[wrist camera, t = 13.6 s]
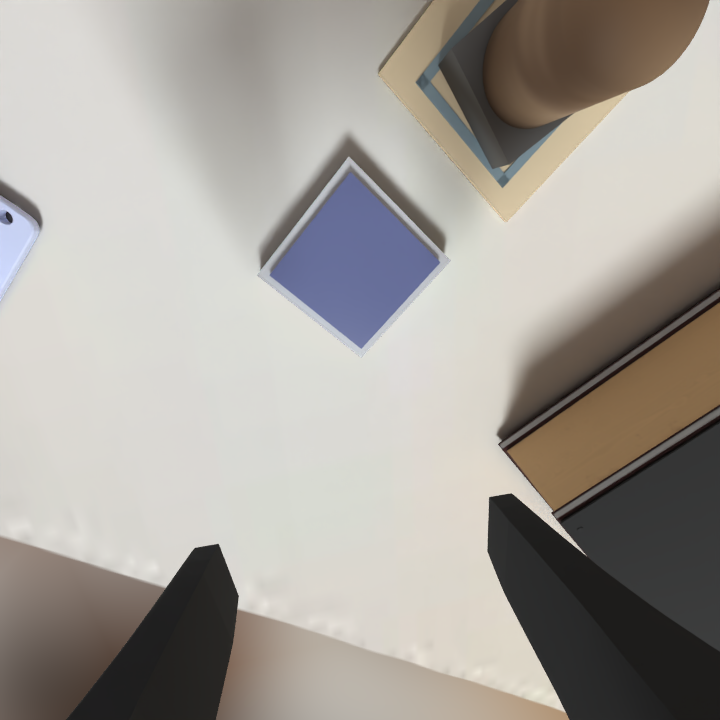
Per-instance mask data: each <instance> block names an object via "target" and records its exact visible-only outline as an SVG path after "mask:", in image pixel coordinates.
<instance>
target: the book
mask: <svg viewBox="0 0 720 720" xmlns="http://www.w3.org/2000/svg"><path fill="white" fill-rule="evenodd" d="M498 445H499V446H500V447H501V448H502V450H503V451H504V452H505V453H506V455H507V456H508V457H509V458H510V459H511V461H512V462H513V463H514V464H515V465H516V467H517V468H518V469H519V470H520V471H521V473H522V474H523V475H524V476H525V477H526V479H527V480H528V481H529V482H530V483H531V485H532V486H533V487H534V488H535V489H536V491H537V492H538V493H539V494H540V495H541V496H542V498H543V499H544V500H545V501H546V502H547V504H548V505H549V506H550V507H551V508H552V510H553V512H552V515H553V516H554V517H555V518H556V520H557V521H558V522H559V523H560V525H561V526H562V527H563V528H564V529H565V531H566V532H567V533H568V534H569V535H570V536H571V538H572V539H573V540H574V541H575V542H576V544H577V545H578V546H579V547H580V548H581V549H582V551H583V552H584V553H585V554H586V555H587V557H588V558H589V559H591V560H592V561H593V562H594V563H596V564H597V565H598V566H599V567H601V568H602V569H603V570H605V571H606V572H607V573H608V574H610V575H611V576H612V577H614V578H615V579H616V580H618V581H619V582H620V583H622V584H623V585H624V586H626V587H627V588H628V589H630V590H631V591H632V592H634V593H635V594H636V595H638V596H639V597H641V598H642V599H643V600H645V601H646V602H647V603H649V604H650V605H652V606H653V607H654V608H656V609H657V610H659V611H660V612H662V613H663V614H664V615H666V616H667V617H669V618H670V619H672V620H673V621H674V622H676V623H677V624H679V625H680V626H682V627H683V628H685V629H686V630H688V631H689V632H691V633H692V634H694V635H695V636H697V637H698V638H700V639H701V640H703V641H704V642H706V643H707V644H709V645H710V646H712V647H714V648H715V649H717V650H718V651H720V288H719V289H718V290H716V291H715V292H714V293H712V294H711V295H709V296H708V297H707V298H705V299H704V300H702V301H701V302H699V303H698V304H697V305H695V306H694V307H692V308H691V309H689V310H688V311H687V312H685V313H684V314H682V315H681V316H680V317H678V318H677V319H675V320H674V321H672V322H671V323H670V324H668V325H667V326H665V327H664V328H662V329H661V330H660V331H658V332H657V333H655V334H654V335H652V336H651V337H650V338H648V339H647V340H645V341H644V342H643V343H641V344H640V345H638V346H637V347H635V348H634V349H633V350H631V351H630V352H628V353H627V354H625V355H624V356H623V357H621V358H620V359H618V360H617V361H615V362H614V363H613V364H611V365H610V366H608V367H607V368H606V369H604V370H603V371H601V372H600V373H598V374H597V375H596V376H594V377H593V378H591V379H590V380H588V381H587V382H586V383H584V384H583V385H581V386H580V387H579V388H577V389H576V390H574V391H573V392H571V393H570V394H569V395H567V396H566V397H564V398H563V399H561V400H560V401H559V402H557V403H556V404H554V405H553V406H551V407H550V408H549V409H547V410H546V411H544V412H543V413H542V414H540V415H539V416H537V417H536V418H534V419H533V420H532V421H530V422H529V423H527V424H526V425H524V426H523V427H522V428H520V429H519V430H517V431H516V432H514V433H513V434H512V435H510V436H509V437H507V438H506V439H505V440H503V441H502V442H500V443H499V444H498Z"/></svg>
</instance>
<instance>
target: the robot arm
mask: <svg viewBox="0 0 720 720" xmlns="http://www.w3.org/2000/svg"><path fill="white" fill-rule="evenodd" d="M6 212H9V213H10V214H11V215H12V218H13V223H10V222H9V221H8V220H7V218H6ZM39 232H40V229H39V225H38V223H37V222H36V220H35V219H34V218H33V217H31V216H30V215H29V214H27V213H26V212H24V211H23V210H21V209H20V208H18V207H17V206H16V205H14V204H13V203H11V202H10V201H8V200H7V199H5V198H4V197H2V196H1V195H0V301H1V299H2V298H3V296H4V294H5V292H6V291H7V289H8V287H9V285H10V284H11V282H12V280H13V278H14V277H15V275H16V273H17V272H18V270H19V268H20V266H21V265H22V263H23V261H24V259H25V258H26V256H27V254H28V253H29V251H30V249H31V247H32V246H33V244H34V242H35V240H36V239H37V237H38V235H39ZM488 554H489V556H490V559H491V561H492V564H493V566H494V569H495V572H496V574H497V576H498V579H499V581H500V584H501V586H502V589H503V591H504V593H505V595H506V597H507V599H508V601H509V603H510V605H511V607H512V609H513V611H514V613H515V615H516V617H517V619H518V620H519V622H520V624H521V626H522V628H523V630H524V632H525V634H526V636H527V638H528V640H529V642H530V643H531V645H532V647H533V649H534V651H535V653H536V655H537V657H538V659H539V661H540V662H541V664H542V666H543V668H544V670H545V672H546V674H547V676H548V678H549V680H550V682H551V683H552V685H553V687H554V689H555V691H556V693H557V695H558V697H559V699H560V701H561V703H562V705H563V707H564V709H565V711H566V713H567V715H568V717H569V719H570V720H720V651H718V650H717V649H715V648H714V647H712V646H710V645H709V644H707V643H706V642H704V641H703V640H701V639H700V638H698V637H697V636H695V635H694V634H692V633H691V632H689V631H688V630H686V629H685V628H683V627H682V626H680V625H679V624H677V623H676V622H674V621H673V620H672V619H670V618H669V617H667V616H666V615H664V614H663V613H662V612H660V611H659V610H657V609H656V608H654V607H653V606H652V605H650V604H649V603H647V602H646V601H645V600H643V599H642V598H641V597H639V596H638V595H636V594H635V593H634V592H632V591H631V590H630V589H628V588H627V587H626V586H624V585H623V584H622V583H620V582H619V581H618V580H616V579H615V578H614V577H612V576H611V575H610V574H608V573H607V572H606V571H605V570H603V569H602V568H601V567H599V566H598V565H597V564H596V563H594V562H593V561H592V560H591V559H589V558H588V557H587V556H586V555H584V554H583V553H582V552H581V551H579V550H578V549H577V548H576V547H574V546H573V545H572V544H571V543H569V542H568V541H567V540H566V539H565V538H563V537H562V536H561V535H560V534H559V533H557V532H556V531H555V530H554V529H553V528H552V527H550V526H549V525H548V524H547V523H546V522H544V521H543V520H542V519H541V518H540V517H539V516H537V515H536V514H535V513H534V512H533V511H532V510H530V509H529V508H528V507H527V506H526V505H525V504H523V503H522V502H521V501H520V500H519V499H518V498H516V497H515V496H514V495H513V494H505V495H499V496H494V497H489V522H488ZM238 597H239V596H238V593H237V590H236V588H235V585H234V583H233V580H232V577H231V575H230V572H229V570H228V567H227V564H226V562H225V559H224V557H223V554H222V551H221V549H220V546H219V544H215V545H209V546H204V547H198V548H195V549H194V550H193V551H192V552H191V554H190V555H189V556H188V558H187V559H186V561H185V562H184V563H183V565H182V566H181V568H180V569H179V571H178V572H177V573H176V575H175V576H174V578H173V579H172V580H171V582H170V583H169V585H168V586H167V588H166V589H165V590H164V592H163V594H162V595H161V596H160V597H159V599H158V600H157V602H156V603H155V605H154V606H153V607H152V609H151V610H150V612H149V613H148V614H147V616H146V617H145V618H144V620H143V621H142V623H141V624H140V625H139V627H138V628H137V629H136V631H135V632H134V633H133V635H132V636H131V637H130V639H129V640H128V641H127V643H126V644H125V646H124V647H123V648H122V649H121V651H120V652H119V653H118V655H117V656H116V657H115V659H114V660H113V661H112V663H111V664H110V665H109V666H108V668H107V669H106V670H105V671H104V673H103V674H102V675H101V677H100V678H99V679H98V680H97V682H96V683H95V684H94V686H93V687H92V688H91V689H90V691H89V692H88V693H87V694H86V696H85V697H84V698H83V700H82V701H81V702H80V703H79V705H78V706H77V707H76V708H75V710H74V711H73V712H72V713H71V714H70V716H69V717H68V718H67V719H66V720H216V716H217V711H218V707H219V703H220V698H221V694H222V689H223V685H224V681H225V676H226V671H227V667H228V663H229V658H230V654H231V649H232V645H233V638H234V630H235V623H236V614H237V606H238Z"/></svg>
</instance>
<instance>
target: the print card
mask: <svg viewBox="0 0 720 720" xmlns="http://www.w3.org/2000/svg"><path fill="white" fill-rule="evenodd" d="M505 1H506V0H433V2H432V3H431V4H430V6H429V7H428V8H427V10H426V11H425V12H424V14H423V15H422V16H421V18H420V19H419V20H418V22H417V23H416V24H415V26H414V27H413V28H412V30H411V31H410V32H409V34H408V35H407V36H406V38H405V39H404V40H403V42H402V43H401V44H400V46H399V47H398V48H397V50H396V51H395V52H394V54H393V55H392V56H391V58H390V59H389V60H388V61H387V63H386V64H385V65H384V67H383V68H382V69H381V71H380V72H379V74H378V75H379V76H380V77H381V78H382V80H383V81H384V82H385V83H386V84H387V85H388V87H389V88H390V89H391V90H392V91H393V92H394V94H395V95H396V96H397V97H398V98H399V99H400V101H401V102H402V103H403V104H404V105H405V106H406V108H407V109H408V110H409V111H410V112H411V113H412V115H413V116H414V117H415V118H416V119H417V120H418V122H419V123H420V124H421V125H422V126H423V127H424V129H425V130H426V131H427V132H428V133H429V134H430V136H431V137H432V138H433V139H434V140H435V141H436V142H437V144H438V145H439V146H440V147H441V148H442V149H443V151H444V152H445V153H446V154H447V155H448V156H449V158H450V159H451V160H452V161H453V162H454V163H455V165H456V166H457V167H458V168H459V169H460V170H461V172H462V173H463V174H464V175H465V176H466V177H467V179H468V180H469V181H470V182H471V183H472V184H473V186H474V187H475V188H476V189H477V190H478V191H479V193H480V194H481V195H482V196H483V197H484V198H485V200H486V201H487V202H488V203H489V204H490V205H491V207H492V208H493V209H494V210H495V211H496V212H497V214H498V215H499V216H500V217H501V218H502V219H503V221H504V222H507V221H508V220H509V219H510V218H511V217H512V216H513V215H514V214H515V213H516V212H517V211H518V209H519V208H520V207H521V206H522V205H523V204H524V203H525V202H526V201H527V200H528V199H529V198H530V197H531V196H532V195H533V193H534V192H535V191H536V190H537V189H538V188H539V187H540V186H541V185H542V184H543V183H544V182H545V181H546V180H547V179H548V177H549V176H550V175H551V174H552V173H553V172H554V171H555V170H556V169H557V168H558V167H559V166H560V165H561V164H562V163H563V161H564V160H565V159H566V158H567V157H568V156H569V155H570V154H571V153H572V152H573V151H574V150H575V149H576V148H577V147H578V145H579V144H580V143H581V142H582V141H583V140H584V139H585V138H586V137H587V136H588V135H589V134H590V133H591V132H592V131H593V129H594V128H595V127H596V126H597V125H598V124H599V123H600V122H601V121H602V120H603V119H604V118H605V117H606V116H607V115H608V113H609V112H610V111H611V110H612V109H613V108H614V107H615V106H616V105H617V104H618V103H619V102H620V101H621V100H622V99H623V97H624V96H625V95H626V94H627V93H628V92H629V91H628V92H626V93H623V94H621V95H618V96H616V97H613V98H611V99H608V100H606V101H603V102H600V103H598V104H595V105H593V106H590V107H588V108H585V109H583V110H580V111H578V112H575V113H574V114H572V115H571V116H570V117H569V118H567V119H566V120H565V121H564V122H562V123H561V124H560V125H559V126H557V127H556V128H555V129H554V130H552V131H551V132H550V133H549V134H547V135H546V136H545V137H544V138H542V139H541V140H540V141H539V142H537V143H536V144H535V145H534V146H532V147H531V148H530V149H528V150H527V151H526V152H525V153H523V154H522V155H521V156H520V157H518V158H517V159H516V160H515V161H513V162H512V163H511V164H510V165H506V166H502V167H498V168H495V169H492V168H491V166H490V164H489V162H488V160H487V158H486V156H485V154H484V152H483V150H482V148H481V146H480V145H479V143H478V141H477V139H476V137H475V135H474V133H473V131H472V129H471V127H470V125H469V123H468V122H467V120H466V118H465V116H464V114H463V112H462V110H461V108H460V106H459V104H458V102H457V100H456V98H455V97H454V95H453V93H452V91H451V89H450V87H449V85H448V83H447V81H446V79H445V77H444V75H443V74H442V72H441V70H440V68H439V66H438V65H439V63H440V62H441V61H442V60H443V58H444V57H445V56H446V55H447V53H448V52H449V51H450V50H451V48H452V47H454V46H455V45H456V44H457V43H458V42H459V41H460V40H462V39H463V38H464V37H465V36H466V35H467V34H468V33H469V32H471V31H472V30H473V29H474V28H475V27H476V26H477V25H479V24H480V23H481V22H482V21H483V20H484V19H485V18H486V17H488V16H489V15H490V14H491V13H492V12H493V11H494V10H496V9H497V8H498V7H499V6H500V5H501V4H502V3H503V2H505Z"/></svg>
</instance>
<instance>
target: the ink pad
mask: <svg viewBox="0 0 720 720" xmlns="http://www.w3.org/2000/svg"><path fill="white" fill-rule="evenodd" d="M450 261H451V260H450V259H449V258H448V257H447V256H446V255H445V254H444V253H443V252H442V251H441V250H440V249H439V248H438V247H437V246H436V245H435V244H434V243H433V242H432V241H431V240H430V239H429V238H428V237H427V236H426V235H425V234H424V233H423V232H422V231H421V230H420V229H419V228H418V227H417V226H416V224H415V223H414V222H413V221H412V220H411V219H410V218H409V217H408V216H407V215H406V214H405V213H404V212H403V211H402V210H401V209H400V208H399V207H398V206H397V205H396V204H395V203H394V202H393V201H392V200H391V199H390V198H389V197H388V196H387V195H386V194H385V193H384V192H383V191H382V190H381V189H380V188H379V187H378V186H377V185H376V184H375V183H374V181H373V180H372V179H371V178H370V177H369V176H368V175H367V174H366V173H365V172H364V171H363V170H362V169H361V168H360V167H359V166H358V165H357V164H356V163H355V162H354V161H353V160H352V159H351V158H350V157H348V158H347V159H346V161H345V162H344V163H343V165H342V166H341V167H340V168H339V170H338V171H337V172H336V174H335V175H334V176H333V177H332V179H331V180H330V181H329V183H328V184H327V185H326V187H325V188H324V189H323V190H322V192H321V193H320V194H319V196H318V197H317V198H316V199H315V201H314V202H313V203H312V205H311V206H310V207H309V208H308V210H307V211H306V212H305V214H304V215H303V216H302V218H301V219H300V220H299V221H298V223H297V224H296V225H295V227H294V228H293V229H292V230H291V232H290V233H289V234H288V236H287V237H286V238H285V239H284V241H283V242H282V243H281V245H280V246H279V247H278V249H277V250H276V251H275V252H274V254H273V255H272V256H271V258H270V259H269V260H268V261H267V263H266V264H265V265H264V267H263V268H262V269H261V270H260V272H259V273H258V274H257V276H258V277H260V278H261V279H262V280H264V281H265V282H266V283H267V284H269V285H270V286H271V287H272V288H274V289H275V290H276V291H277V292H279V293H280V294H281V295H282V296H284V297H285V298H286V299H288V300H289V301H290V302H291V303H293V304H294V305H295V306H296V307H298V308H299V309H300V310H301V311H303V312H304V313H305V314H307V315H308V316H309V317H310V318H312V319H313V320H314V321H315V322H317V323H318V324H319V325H320V326H322V327H323V328H324V329H325V330H327V331H328V332H329V333H331V334H332V335H333V336H334V337H336V338H337V339H338V340H339V341H341V342H342V343H343V344H344V345H346V346H347V347H348V348H350V349H351V350H352V351H353V352H355V353H356V354H357V355H358V356H360V357H361V358H362V357H363V355H364V354H365V353H366V352H367V351H368V350H369V349H370V348H371V347H372V346H373V345H374V344H375V342H376V341H377V340H378V339H379V338H380V337H381V336H382V335H383V334H384V333H385V332H386V331H387V329H388V328H389V327H390V326H391V325H392V324H393V323H394V322H395V321H396V320H397V319H398V317H399V316H400V315H401V314H402V313H403V312H404V311H405V310H406V309H407V308H408V307H409V306H410V304H411V303H412V302H413V301H414V300H415V299H416V298H417V297H418V296H419V295H420V294H421V293H422V291H423V290H424V289H425V288H426V287H427V286H428V285H429V284H430V283H431V282H432V281H433V280H434V278H435V277H436V276H437V275H438V274H439V273H440V272H441V271H442V270H443V269H444V268H445V266H446V265H447V264H448V263H449V262H450Z"/></svg>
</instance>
